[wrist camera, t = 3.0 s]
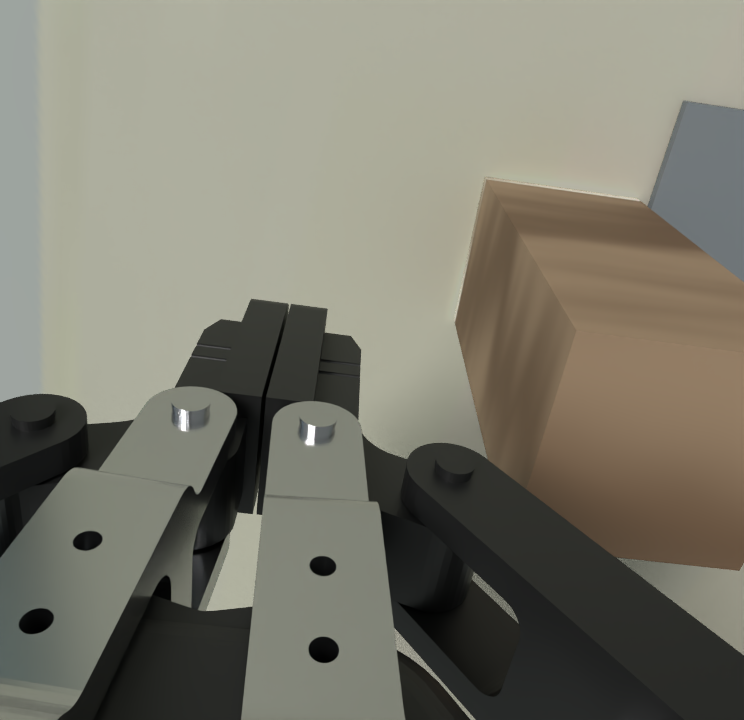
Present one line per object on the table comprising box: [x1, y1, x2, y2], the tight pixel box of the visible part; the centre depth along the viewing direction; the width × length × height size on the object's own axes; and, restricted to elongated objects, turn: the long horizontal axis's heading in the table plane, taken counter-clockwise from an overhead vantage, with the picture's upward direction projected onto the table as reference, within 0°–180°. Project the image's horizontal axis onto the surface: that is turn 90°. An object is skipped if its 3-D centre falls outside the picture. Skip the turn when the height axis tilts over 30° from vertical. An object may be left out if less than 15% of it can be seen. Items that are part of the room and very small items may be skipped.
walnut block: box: [454, 177, 744, 571], centre depth 16 cm, size 4×4×10 cm
